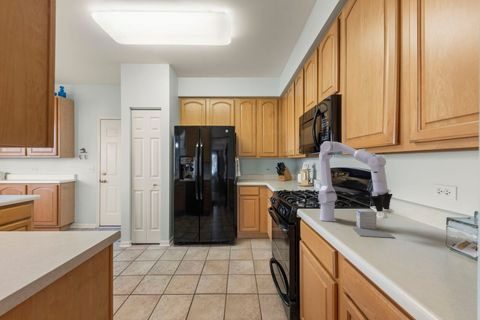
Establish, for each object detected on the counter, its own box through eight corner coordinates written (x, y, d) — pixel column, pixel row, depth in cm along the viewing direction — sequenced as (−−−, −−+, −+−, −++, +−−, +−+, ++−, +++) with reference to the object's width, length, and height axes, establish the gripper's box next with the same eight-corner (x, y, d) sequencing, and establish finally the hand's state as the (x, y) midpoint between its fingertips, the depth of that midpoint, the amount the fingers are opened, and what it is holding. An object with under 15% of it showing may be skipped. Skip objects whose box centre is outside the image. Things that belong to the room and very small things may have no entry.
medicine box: (372, 227, 118) (372, 209, 118) (376, 229, 114) (376, 211, 114) (356, 226, 119) (356, 209, 119) (359, 229, 114) (359, 211, 114)
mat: (352, 228, 115) (352, 228, 115) (384, 230, 112) (384, 229, 112) (360, 236, 104) (360, 235, 104) (394, 238, 101) (394, 237, 101)
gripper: (382, 181, 102) (386, 212, 101) (394, 179, 111) (398, 208, 110) (365, 182, 108) (369, 212, 106) (378, 180, 117) (382, 208, 115)
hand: (383, 210), depth 109 cm, fingers open, 7 cm apart
